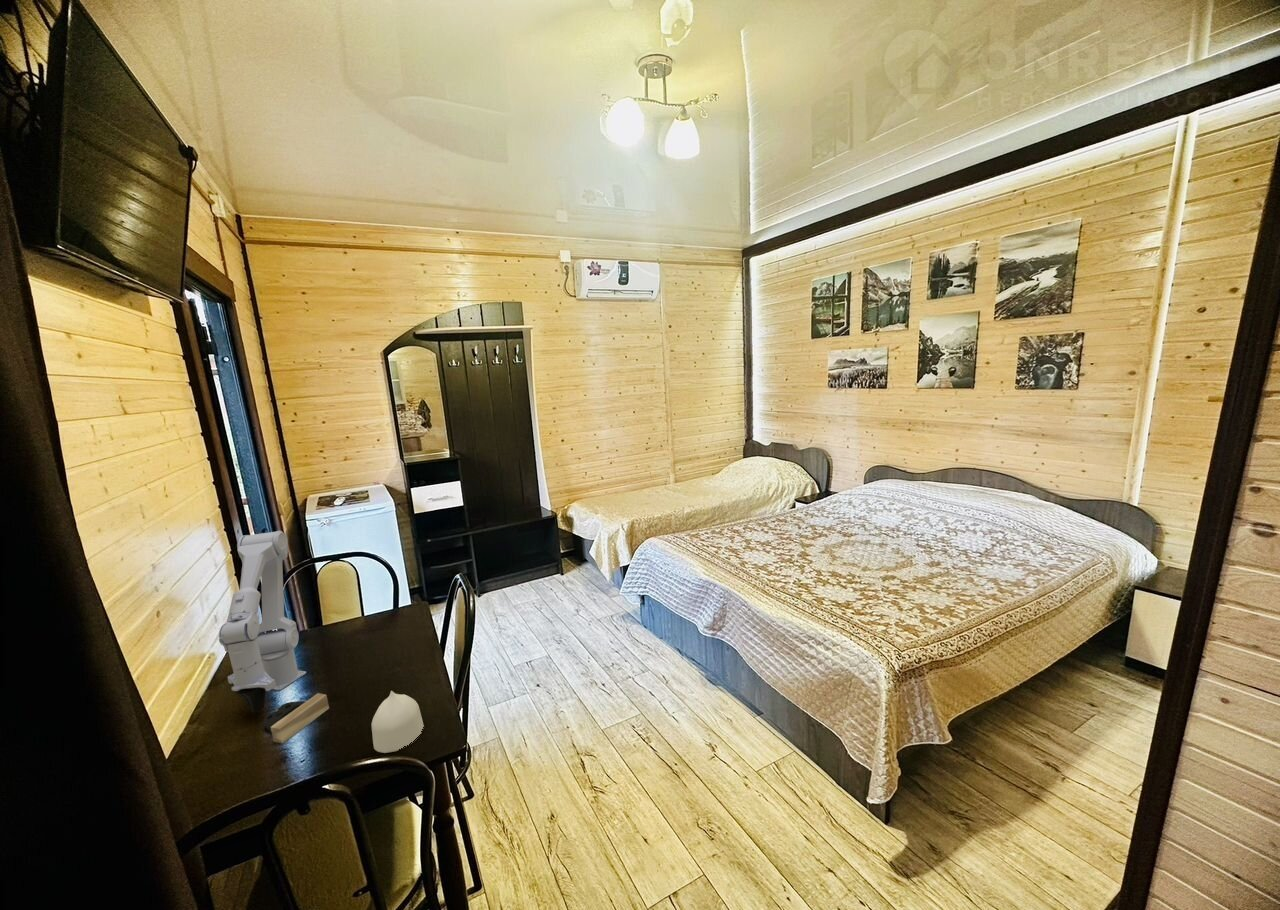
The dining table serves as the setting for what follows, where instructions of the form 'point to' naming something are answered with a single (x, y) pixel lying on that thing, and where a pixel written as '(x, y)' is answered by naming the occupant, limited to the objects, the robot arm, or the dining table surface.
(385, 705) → the teardrop
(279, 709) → the gaming controller
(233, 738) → the dining table surface
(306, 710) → the bench stop
